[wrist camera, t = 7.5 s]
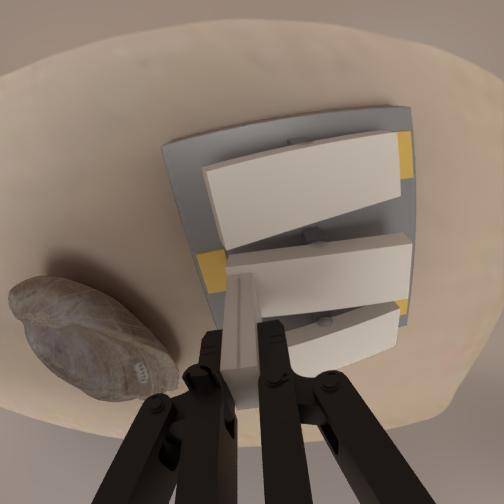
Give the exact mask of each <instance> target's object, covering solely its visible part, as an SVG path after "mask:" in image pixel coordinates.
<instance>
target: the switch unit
mask: <svg viewBox="0 0 504 504" xmlns="http://www.w3.org/2000/svg"><path fill="white" fill-rule="evenodd" d="M377 130H384V131H392V132H397V138H398V150H399V164H400V185H401V196H400V197H396V198H393V199H390V200H387V201H383V202H380V203H377V204H374V205H370V206H367V207H364V208H361V209H357V210H354V211H351V212H348V213H344V214H341V215H338V216H335V217H332V218H328V219H325V220H322V221H319V222H316V223H312V224H309V225H306V226H303V227H300V228H296V229H293V230H290V231H287V232H284V233H281V234H277V235H274V236H271V237H268V238H265V239H262V240H258V241H255V242H252V243H249V244H246V245H243V246H240V247H236V248H233V249H230V250H227V251H226V249H225V247H224V246H223V244H222V242H221V240H220V238H219V234H218V230H217V226H216V223H215V219H214V215H213V211H212V207H211V203H210V200H209V196H208V192H207V188H206V184H205V180H204V176H203V172H202V168H201V167H205V166H209V165H212V164H216V163H220V162H223V161H227V160H231V159H235V158H239V157H243V156H247V155H251V154H255V153H259V152H264V151H268V150H273V149H277V148H282V147H286V146H291V145H294V144H297V143H301V142H311V141H316V140H321V139H327V138H332V137H338V136H344V135H350V134H356V133H363V132H370V131H377ZM161 150H162V153H163V157H164V161H165V165H166V168H167V172H168V176H169V179H170V183H171V186H172V190H173V193H174V197H175V200H176V204H177V207H178V210H179V214H180V217H181V221H182V224H183V227H184V230H185V234H186V237H187V240H188V243H189V247H190V250H191V253H192V256H193V259H194V262H195V265H196V268H197V271H198V274H199V277H200V281H201V284H202V286H203V289H204V292H205V295H206V298H207V301H208V304H209V307H210V310H211V313H212V316H213V318H214V321H215V324H216V327H217V330H221V329H223V321H224V308H225V295H226V282H227V273H226V270H225V266H226V263H227V260H228V257H229V255H231V254H239V253H247V252H255V251H263V250H270V249H278V248H286V247H294V246H301V245H309V244H311V243H312V242H315V241H325V242H332V241H340V240H348V239H356V238H363V237H371V236H379V235H387V234H395V233H402V232H404V233H405V234H406V236H407V237H408V238H409V240H410V241H411V242H412V258H411V272H410V283H409V293H408V299H403V300H397V301H394V302H395V303H396V304H397V305H398V306H399V307H400V317H399V325H398V327H401V326H405V325H407V319H408V312H409V304H410V296H411V287H412V277H413V266H414V251H415V231H416V171H415V151H414V137H413V126H412V116H411V107H405V106H392V105H387V106H370V107H356V108H345V109H335V110H326V111H318V112H310V113H302V114H295V115H289V116H282V117H276V118H270V119H265V120H259V121H254V122H249V123H244V124H239V125H234V126H229V127H225V128H220V129H216V130H211V131H207V132H203V133H199V134H195V135H191V136H187V137H183V138H180V139H176V140H172V141H170V142H168V143H166V144H164V145H162V146H161ZM365 306H366V305H365ZM361 307H364V306H358V307H350V308H343V309H335V310H328V311H319V312H311V313H302V314H293V315H283V316H273V317H263V318H262V322H266V321H271V320H277V319H278V320H279V321H280V322H281V323H282V324H283V325H284V329H285V332H286V331H290V330H293V329H297V328H300V327H303V326H306V325H310V324H313V323H316V322H318V320H319V319H320V318H322V317H330V318H331V317H335V316H338V315H341V314H343V313H346V312H349V311H352V310H355V309H358V308H361Z"/></svg>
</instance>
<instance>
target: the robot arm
mask: <svg viewBox="0 0 504 504" xmlns="http://www.w3.org/2000/svg"><path fill="white" fill-rule="evenodd" d="M182 378H183V380H184V382H185V383H186V385H187V387H188V389H189V391H187V392H186V393H183V394H181V395H178V396H175V397H172V398H170V397H169V396H168V395H166V394H163V393H157V394H154V395H151V396H150V397H148V398H147V399H146V400H145V401H144V403H143V404H142V406H141V408H140V410H139V412H138V414H137V416H136V417H135V419H134V421H133V423H132V425H131V427H130V429H129V431H128V433H127V435H126V436H125V438H124V440H123V442H122V444H121V446H120V448H119V450H118V452H117V454H116V456H115V458H114V460H113V462H112V464H111V466H110V468H109V469H108V471H107V473H106V475H105V477H104V479H103V482H102V483H101V485H100V487H99V489H98V491H97V493H96V495H95V497H94V499H93V501H92V503H91V504H169V501H170V498H171V496H172V494H173V491H174V488H175V486H176V484H177V488H176V497H175V504H237V417H236V415H235V406H236V408H237V410H240V409H249V408H257V407H259V411H260V428H261V445H262V461H263V478H264V495H265V504H313V501H312V494H311V487H310V480H309V474H308V467H307V461H306V454H305V448H304V441H303V435H302V429H301V424H311V425H317V426H318V428H319V430H320V432H321V434H322V435H323V437H324V439H325V441H326V443H327V445H328V446H329V448H330V450H331V452H332V454H333V456H334V457H335V459H336V461H337V463H338V465H339V466H340V468H341V470H342V472H343V474H344V475H345V477H346V479H347V481H348V483H349V484H350V486H351V488H352V490H353V491H354V493H355V495H356V497H357V499H358V500H359V502H360V504H436V503H435V502H434V500H433V499H432V497H431V496H430V494H429V493H428V492H427V490H426V489H425V487H424V486H423V485H422V483H421V482H420V480H419V479H418V477H417V476H416V474H415V473H414V471H413V470H412V469H411V467H410V466H409V465H408V463H407V462H406V460H405V459H404V457H403V456H402V454H401V453H400V451H399V450H398V449H397V447H396V446H395V444H394V443H393V441H392V440H391V439H390V437H389V436H388V434H387V433H386V431H385V430H384V429H383V427H382V426H381V424H380V423H379V422H378V420H377V419H376V417H375V416H374V414H373V413H372V412H371V410H370V409H369V407H368V406H367V405H366V403H365V402H364V400H363V399H362V397H361V396H360V395H359V393H358V392H357V390H356V389H355V388H354V386H353V385H352V383H351V382H350V380H349V379H348V378H347V376H346V375H344V374H343V373H342V372H339V371H337V370H328V371H324V372H322V373H320V374H319V375H317V376H316V378H311V377H303V376H300V375H298V374H296V373H295V372H294V371H293V370H292V368H291V363H290V357H289V351H288V345H287V340H286V335H285V329H284V325H283V324H282V323H281V322H280V321H279V320H278V319H277V320H271V321H266V322H262V315H261V309H260V305H259V301H258V297H257V292H256V288H255V284H254V279H253V275H252V273H247V274H242V275H236V276H231V277H227V282H226V295H225V308H224V321H223V329H221V330H214V331H207V332H206V334H205V336H204V337H203V339H202V342H201V349H200V356H199V363H198V364H194V365H192V366H191V367H189V368H188V369H187V370H186V371H185V372H184V374H183V376H182Z"/></svg>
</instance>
